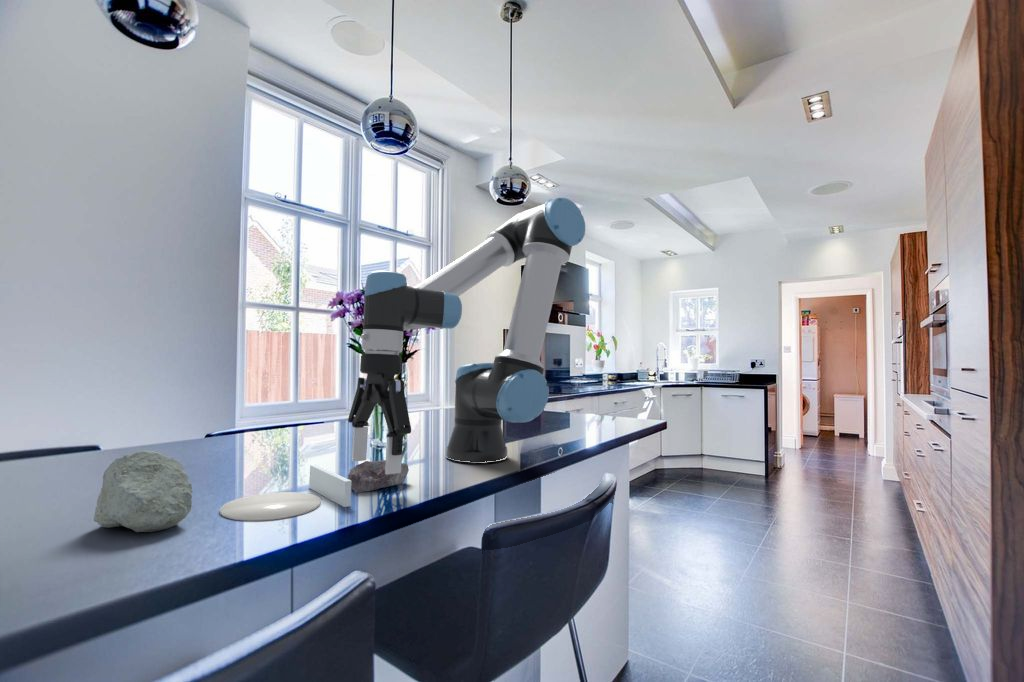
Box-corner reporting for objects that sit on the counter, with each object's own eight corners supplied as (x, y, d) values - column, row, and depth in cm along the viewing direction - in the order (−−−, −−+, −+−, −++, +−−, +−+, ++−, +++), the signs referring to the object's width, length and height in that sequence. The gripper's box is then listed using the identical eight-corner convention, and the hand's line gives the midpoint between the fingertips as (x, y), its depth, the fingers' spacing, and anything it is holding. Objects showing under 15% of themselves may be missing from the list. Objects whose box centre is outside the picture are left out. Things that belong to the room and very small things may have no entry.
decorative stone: (92, 516, 67) (70, 468, 62) (180, 478, 75) (167, 432, 69) (123, 584, 61) (101, 537, 56) (215, 535, 69) (204, 489, 63)
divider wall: (314, 486, 87) (315, 464, 87) (350, 506, 76) (351, 480, 76) (309, 487, 86) (310, 465, 87) (344, 507, 75) (345, 481, 76)
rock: (334, 489, 86) (335, 463, 87) (379, 477, 96) (381, 454, 97) (367, 496, 83) (369, 469, 83) (411, 484, 93) (412, 459, 93)
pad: (302, 490, 85) (302, 487, 85) (334, 509, 74) (334, 506, 74) (210, 503, 75) (210, 501, 75) (232, 527, 65) (233, 524, 65)
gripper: (335, 352, 98) (328, 457, 96) (397, 352, 79) (389, 482, 78) (370, 354, 103) (363, 454, 102) (435, 354, 85) (428, 477, 83)
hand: (374, 466), depth 90 cm, fingers open, 13 cm apart
